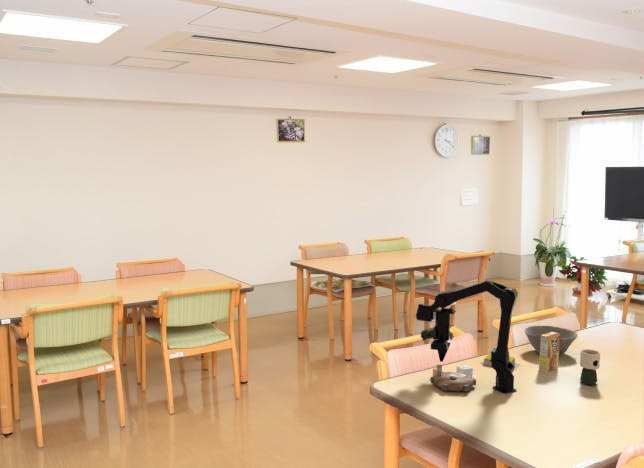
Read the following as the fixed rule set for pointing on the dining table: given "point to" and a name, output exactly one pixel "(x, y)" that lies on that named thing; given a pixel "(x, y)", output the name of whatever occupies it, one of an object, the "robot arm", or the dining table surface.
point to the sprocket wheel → (452, 380)
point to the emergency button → (487, 362)
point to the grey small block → (465, 370)
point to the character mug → (589, 365)
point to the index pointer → (434, 371)
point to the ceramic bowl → (537, 331)
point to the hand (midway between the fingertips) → (441, 361)
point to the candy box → (549, 351)
